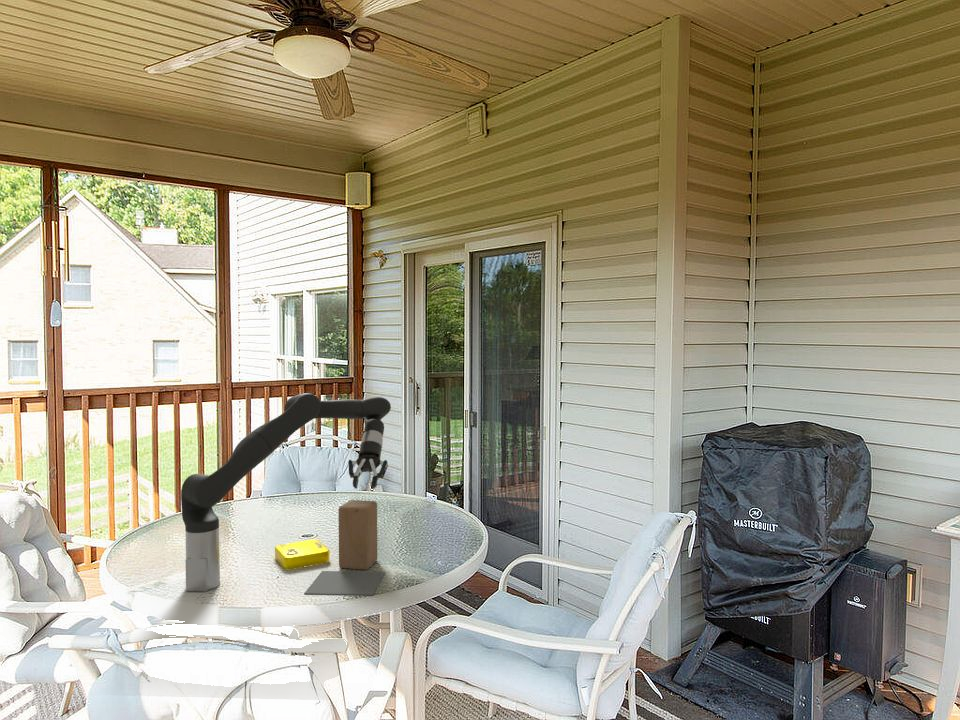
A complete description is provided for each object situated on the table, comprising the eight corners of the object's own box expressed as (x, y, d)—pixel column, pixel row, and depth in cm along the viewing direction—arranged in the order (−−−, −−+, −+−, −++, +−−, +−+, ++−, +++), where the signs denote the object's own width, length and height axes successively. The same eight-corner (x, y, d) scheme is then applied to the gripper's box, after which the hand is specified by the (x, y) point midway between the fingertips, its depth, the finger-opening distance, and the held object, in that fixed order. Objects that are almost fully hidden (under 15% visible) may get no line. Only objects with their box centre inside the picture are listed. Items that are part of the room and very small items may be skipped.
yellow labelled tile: (331, 563, 217) (331, 549, 217) (285, 571, 209) (284, 556, 209) (317, 550, 230) (317, 537, 229) (273, 558, 222) (273, 544, 222)
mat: (373, 595, 189) (373, 594, 189) (304, 594, 190) (304, 593, 190) (384, 572, 207) (384, 571, 207) (322, 571, 208) (322, 570, 208)
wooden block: (367, 571, 208) (366, 508, 208) (337, 568, 210) (337, 506, 210) (378, 560, 218) (378, 500, 217) (350, 558, 220) (349, 499, 219)
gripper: (349, 439, 232) (340, 481, 220) (389, 440, 231) (383, 481, 220) (353, 452, 237) (345, 493, 226) (392, 452, 237) (386, 493, 225)
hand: (364, 487), depth 223 cm, fingers open, 5 cm apart
